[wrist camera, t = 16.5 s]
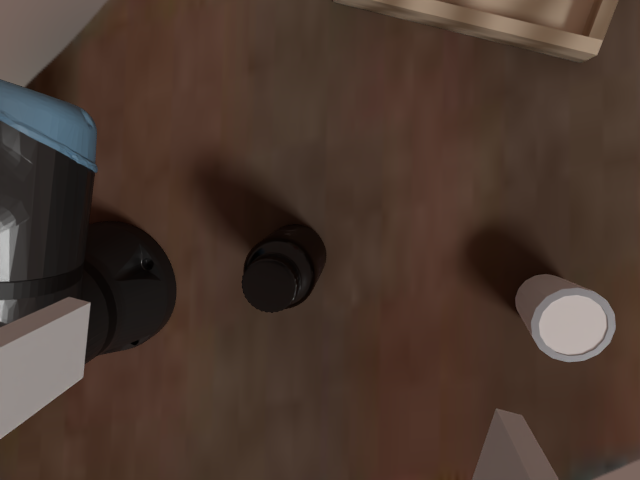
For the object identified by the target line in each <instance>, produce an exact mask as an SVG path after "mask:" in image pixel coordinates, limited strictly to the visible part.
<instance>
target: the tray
mask: <svg viewBox="0 0 640 480" xmlns="http://www.w3.org/2000/svg"><path fill="white" fill-rule="evenodd" d="M618 1H619V0H333V2H335V3H339V4H343V5H347V6H351V7H355V8H359V9H363V10H367V11H372V12H376V13H380V14H384V15H388V16H392V17H396V18H400V19H404V20H408V21H412V22H416V23H420V24H425V25H429V26H433V27H437V28H441V29H445V30H449V31H453V32H457V33H461V34H465V35H469V36H473V37H477V38H482V39H486V40H490V41H494V42H498V43H502V44H506V45H510V46H514V47H518V48H522V49H526V50H530V51H535V52H539V53H543V54H547V55H551V56H555V57H559V58H563V59H567V60H571V61H575V62H579V63H582V62H584V61H586V60H588V59H590V58H592V57H594V56H596V55H597V54H598V52H599V49H600V47H601V44H602V42H603V39H604V36H605V34H606V31H607V29H608V26H609V24H610V21H611V18H612V16H613V13H614V11H615V8H616V6H617V3H618Z"/></svg>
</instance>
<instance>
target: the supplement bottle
mask: <svg viewBox="0 0 640 480" xmlns="http://www.w3.org/2000/svg"><path fill="white" fill-rule="evenodd" d="M325 262H326V249H325V245H324V243H323V241H322V239H321V238H320V236H319V235H318V234H317V233H316V232H315V231H313V230H312V229H310V228H308V227H306V226H303V225H299V224H291V225H286V226H283V227H281V228H279V229H277V230H276V231H274V232H273V233H272V234H270V235H269V236H267V237H266V238H265V239H263V240H262V241H260V242H259V243H258V244H256V245H255V246H254V247H253V248H252V249H251V251H250V252H249V254H248V255H247V257H246V260H245V263H244V270H243V273H244V275H243V276H242V277H243V280H242V289H243V293H244V294H245V298H246V299H247V300H248V302H249V303H251V305H252V306H254V307H255V308H256V309H259V310H261V311H265V312H271V313H273V312H278V311H281V310H283V309H288V308H292V307H295V306H297V305H299V304H300V303H302V302H303V301H304V300H306V299H307V297H308V296H309V295H310V294H311V292H312V290H313V288H314V286H315V285H316V283H317V281H318V279H319V277H320V275H321V273H322V271H323V268H324V266H325Z"/></svg>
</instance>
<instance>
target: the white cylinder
mask: <svg viewBox="0 0 640 480" xmlns="http://www.w3.org/2000/svg"><path fill="white" fill-rule="evenodd" d="M515 303H516V309H517V311H518V313H519V314H520V316H521V318H522V320H523V321H524V323H525V325H526V327H527V328H528V330H529V332H530V334H531V335H532V337H533V339H534V340H535V342H536V344H537V345H538V347H539V349H540V350H542V351H543V352H544V353H546V354H547V355H549V356H550V357H551V358H554V359H558V360H561V361H565V362H574V361H584V360H587V359H589V358H591V357H593V356H595V355H598V354H599V353H600V352H601V351H602V350H603V349H604V348H605V347H606V346H607V345H608V344H609V343H610V341H611V339H612V336H613V334H614V331H615V329H616V327H615V314H614V312H613V310H612V309H611V307H610V305H609V303H608V302H607V300H605V299H604V298H602V297H601V296H600V295H598V294H597V293H595V292H594V291H592V290H589V289H587V288H584V287H582V286H580V285H577V284H575V283H572V282H570V281H568V280H565V279H563V278H560V277H558V276H554V275H550V274H542V275H535V276H533V277H531V278H529V279H528V280H526V281H525V282H524V283H523V284H522V285H521V286H520V287H519V288H518V291H517V294H516V297H515Z"/></svg>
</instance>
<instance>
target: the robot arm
mask: <svg viewBox="0 0 640 480" xmlns="http://www.w3.org/2000/svg"><path fill="white" fill-rule="evenodd" d="M96 139H97V129H96V125H95V122H94V121H93V119H92V117H91V116H90V115H89V114H88V113H87V112H86V111H85V110H83V109H82V108H80V107H78V106H76V105H73V104H71V103H68V102H65V101H62V100H60V99H57V98H54V97H51V96H48V95H45V94H42V93H39V92H37V91H34V90H31V89H28V88H25V87H22V86H19V85H16V84H13V83H10V82H6V81H3V80H1V79H0V439H1V438H2V437H4V436H5V435H6V434H8V433H9V432H10V431H12V430H13V429H14V428H16V427H17V426H19V425H20V424H21V423H23V422H24V421H25V420H27V419H28V418H29V417H31V416H32V415H33V414H35V413H36V412H37V411H39V410H40V409H41V408H43V407H44V406H45V405H47V404H48V403H50V402H51V401H52V400H54V399H55V398H56V397H58V396H59V395H60V394H62V393H63V392H64V391H66V390H67V389H68V388H70V387H71V386H72V385H74V384H75V383H76V382H78V381H79V380H81V379H82V378H83V373H84V365H85V364H86V363H87V362H89V361H90V360H92V359H93V358H94V357H96V356H98V355H102V354H107V353H112V352H117V351H122V350H126V349H130V348H133V347H136V346H138V345H140V344H142V343H144V342H145V341H147V340H148V339H150V338H151V337H152V336H154V335H155V334H156V333H158V332H159V331H160V330H161V329H162V328H163V327H164V326H165V324H166V323H167V321H168V320H169V318H170V316H171V314H172V312H173V309H174V305H175V300H176V281H175V276H174V272H173V269H172V266H171V264H170V262H169V260H168V258H167V256H166V254H165V253H164V251H163V250H162V248H161V247H160V246H159V245H158V244H157V243H156V241H154V240H153V239H152V238H151V237H150V236H149V235H148V234H146V233H145V232H143V231H142V230H140V229H138V228H136V227H134V226H132V225H129V224H126V223H122V222H115V221H105V222H98V223H94V224H89V218H90V209H91V201H92V193H93V185H94V177H95V172H96V173H97V170H98V169H97V166H96V164H95V157H96ZM472 480H559V479H558V477H557V476H556V474H555V472H554V470H553V469H552V467H551V465H550V463H549V462H548V460H547V458H546V456H545V455H544V453H543V451H542V449H541V448H540V446H539V444H538V442H537V441H536V439H535V437H534V435H533V434H532V432H531V430H530V428H529V427H528V425H527V423H526V421H525V420H524V418H523V416H522V415H519V414H515V413H511V412H508V411H504V410H500V409H496V410H495V413H494V416H493V419H492V422H491V425H490V428H489V431H488V434H487V437H486V440H485V443H484V446H483V449H482V452H481V455H480V458H479V461H478V464H477V467H476V470H475V473H474V475H473V478H472Z"/></svg>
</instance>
